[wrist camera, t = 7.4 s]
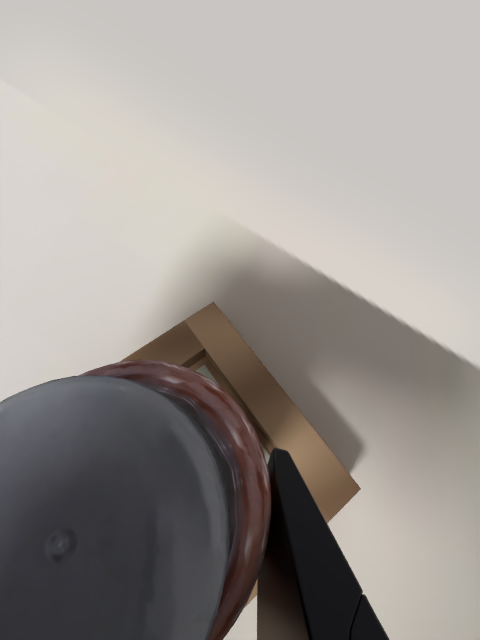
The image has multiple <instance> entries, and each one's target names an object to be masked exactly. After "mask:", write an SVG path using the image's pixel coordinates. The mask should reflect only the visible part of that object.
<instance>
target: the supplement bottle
mask: <svg viewBox="0 0 480 640" xmlns="http://www.w3.org/2000/svg"><path fill="white" fill-rule="evenodd" d="M270 522H271V487H270V476H269V471H268V467H267V462H266V459H265V455H264V451H263V449H262V446H261V443H260V441H259V438H258V436H257V434H256V432H255V429H254V427H253V426H252V424H251V423H250V421H249V419H248V418H247V416H246V415H245V413H244V412H243V410H242V409H241V408H240V406H239V405H238V404H237V403H236V401H235V400H234V399H233V398H232V397H231V396H230V395H229V394H228V393H227V392H226V391H225V390H224V389H223V388H222V387H220V386H219V385H218V384H217V383H215V382H214V381H213V380H211V379H209V378H208V377H206V376H204V375H202V374H200V373H198V372H196V371H193V370H191V369H188V368H186V367H183V366H181V365H178V364H175V363H170V362H164V361H160V360H158V361H153V360H142V359H138V360H131V361H126V360H125V361H121V362H118V363H115V364H110V365H106V366H103V367H100V368H97V369H94V370H91V371H88V372H86V373H84V374H81V375H79V376H72V377H67V378H61V379H57V380H52V381H48V382H46V383H43V384H40V385H37V386H34V387H32V388H29V389H27V390H24V391H22V392H19V393H17V394H15V395H13V396H11V397H9V398H7V399H5V400H3V401H1V402H0V640H223V639H224V637H225V636H226V635H227V633H228V632H229V630H230V629H231V627H232V626H233V625H234V623H235V622H236V620H237V618H238V617H239V615H240V613H241V612H242V610H243V608H244V607H245V605H246V603H247V602H248V599H249V597H250V595H251V592H252V590H253V588H254V585H255V583H256V580H257V578H258V576H259V573H260V569H261V566H262V562H263V559H264V556H265V552H266V549H267V543H268V537H269V530H270Z"/></svg>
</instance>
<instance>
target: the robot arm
mask: <svg viewBox="0 0 480 640" xmlns="http://www.w3.org/2000/svg"><path fill="white" fill-rule="evenodd" d="M267 467H268V471H269V476H270V487H271V522H270V530H269V537H268V543H267V549H266V552H265V556H264V559H263V562H262V566H261V569H260V573H259V576H258V578H257V640H389V638H388V636H387V634H386V632H385V631H384V629H383V627H382V625H381V623H380V622H379V620H378V618H377V616H376V614H375V612H374V611H373V609H372V607H371V605H370V603H369V601H368V599H367V597H366V596H365V595H364V594H362V593H363V591H362V588H361V586H360V585H359V583H358V581H357V579H356V577H355V575H354V573H353V571H352V570H351V568H350V566H349V564H348V562H347V560H346V558H345V556H344V555H343V553H342V551H341V549H340V547H339V545H338V543H337V541H336V540H335V538H334V536H333V534H332V532H331V530H330V528H329V526H328V525H327V523H326V521H325V519H324V517H323V515H322V513H321V511H320V510H319V508H318V506H317V504H316V502H315V500H314V498H313V496H312V495H311V493H310V491H309V489H308V487H307V485H306V483H305V481H304V480H303V478H302V476H301V474H300V472H299V470H298V468H297V466H296V464H295V463H294V461H293V459H292V457H291V455H290V453H289V452H288V451H287V450H283V449H279V448H273V449H272V452H271V455H270V458H269V461H268V464H267Z"/></svg>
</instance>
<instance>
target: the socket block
mask: <svg viewBox="0 0 480 640" xmlns="http://www.w3.org/2000/svg"><path fill="white" fill-rule="evenodd" d="M138 359H142V360H153V361H158V360H160V361H164V362H170V363H175V364H178V365H181V366H183V367H186V368H188V369H191V370H193V371H196V372H198V373H200V374H202V375H204V376H206V377H208V378H209V379H211V380H213V381H214V382H215V383H217V384H218V385H219V386H220V387H222V388H223V389H224V390H225V391H226V392H227V393H228V394H229V395H230V396H231V397H232V398H233V399H234V400H235V401H236V403H237V404H238V405H239V406H240V408H241V409H242V410H243V412H244V413H245V415H246V416H247V418H248V419H249V421H250V423H251V424H252V426H253V427H254V429H255V432H256V434H257V436H258V438H259V441H260V443H261V446H262V449H263V451H264V455H265V459H266V462H267V464H268V461H269V458H270V455H271V452H272V449H273V448H279V449H283V450H287V451H288V452H289V453H290V455H291V457H292V459H293V461H294V463H295V464H296V466H297V468H298V470H299V472H300V474H301V476H302V478H303V480H304V481H305V483H306V485H307V487H308V489H309V491H310V493H311V495H312V496H313V498H314V500H315V502H316V504H317V506H318V508H319V510H320V511H321V513H322V515H323V517H324V519H325V521H326V523H328V522H329V521H330V520H331V519H332V518H333V517H334V516H335V515H336V514H337V513H338V512H339V511H340V510H341V509H342V508H343V507H344V506H345V505H346V504H347V503H348V502H349V501H350V500H351V499H352V497H353V496H354V495H355V494H356V493H357V492H358V491H359V490H360V489H361V488H360V487H359V486H358V484H357V483H356V482H355V481H354V479H353V478H352V477H351V475H350V474H349V473H348V472H347V470H346V469H345V468H344V467H343V465H342V464H341V463H340V461H339V460H338V459H337V458H336V456H335V455H334V454H333V453H332V451H331V450H330V449H329V448H328V446H327V445H326V444H325V442H324V441H323V440H322V439H321V437H320V436H319V435H318V434H317V432H316V431H315V430H314V428H313V427H312V426H311V425H310V423H309V422H308V421H307V420H306V418H305V417H304V416H303V415H302V413H301V412H300V411H299V409H298V408H297V407H296V406H295V404H294V403H293V402H292V401H291V399H290V398H289V397H288V395H287V394H286V393H285V392H284V390H283V389H282V388H281V387H280V385H279V384H278V383H277V382H276V380H275V379H274V378H273V376H272V375H271V374H270V373H269V371H268V370H267V369H266V368H265V366H264V365H263V364H262V362H261V361H260V360H259V359H258V357H257V356H256V355H255V354H254V352H253V351H252V350H251V349H250V347H249V346H248V345H247V343H246V342H245V341H244V340H243V338H242V337H241V336H240V335H239V333H238V332H237V331H236V329H235V328H234V327H233V326H232V324H231V323H230V322H229V321H228V319H227V318H226V317H225V316H224V314H223V313H222V312H221V310H220V309H219V308H218V307H217V305H216V304H215V303H214V302H212V303H211V304H209V305H208V306H206V307H205V308H203V309H201V310H200V311H198V312H197V313H195V314H194V315H192V316H190V317H189V318H187V319H186V320H184V321H183V322H181V323H180V324H178V325H176V326H175V327H173V328H172V329H170V330H169V331H167V332H166V333H164V334H162V335H161V336H159V337H158V338H156V339H155V340H153V341H151V342H150V343H148V344H147V345H145V346H144V347H142V348H141V349H139V350H137V351H136V352H134V353H133V354H131V355H130V356H128V357H126V358H125V359H123V360H122V361H125V360H126V361H131V360H138ZM120 362H121V361H120ZM256 595H257V580H256V583H255V585H254V588H253V590H252V592H251V595H250V597H249V599H248V602H247V603H246V605H247V604H248V603H249V602H250V601H251V600H252V599H253V598H254V597H255V596H256ZM246 605H245V606H246Z"/></svg>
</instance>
